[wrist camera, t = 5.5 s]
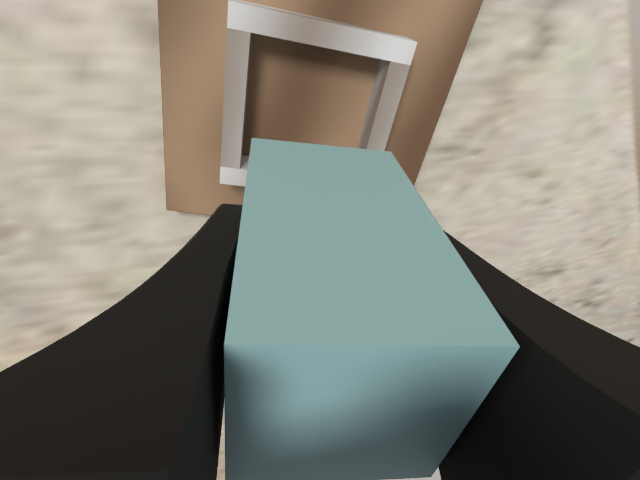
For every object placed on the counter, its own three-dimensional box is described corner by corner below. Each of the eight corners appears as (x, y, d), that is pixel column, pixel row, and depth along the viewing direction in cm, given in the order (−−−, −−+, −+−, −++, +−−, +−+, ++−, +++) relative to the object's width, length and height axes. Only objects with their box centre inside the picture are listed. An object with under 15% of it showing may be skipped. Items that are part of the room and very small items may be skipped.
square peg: (391, 151, 11) (520, 346, 5) (362, 259, 13) (431, 477, 7) (251, 138, 10) (224, 343, 4) (247, 253, 12) (225, 487, 7)
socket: (480, -27, 15) (513, -27, 13) (390, 225, 21) (402, 251, 19) (160, -112, 12) (138, -129, 10) (171, 200, 19) (158, 226, 17)
